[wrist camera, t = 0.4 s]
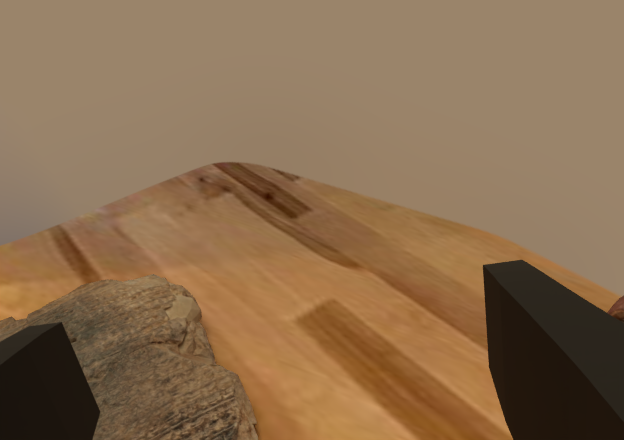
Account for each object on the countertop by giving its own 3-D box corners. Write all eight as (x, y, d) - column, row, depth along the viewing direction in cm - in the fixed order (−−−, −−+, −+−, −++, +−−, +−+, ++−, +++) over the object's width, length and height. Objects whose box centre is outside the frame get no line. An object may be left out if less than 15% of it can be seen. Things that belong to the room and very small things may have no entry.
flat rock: (325, 492, 28) (169, 283, 42) (319, 434, 25) (154, 231, 39) (33, 703, 22) (-35, 377, 36) (-18, 657, 19) (-71, 323, 33)
